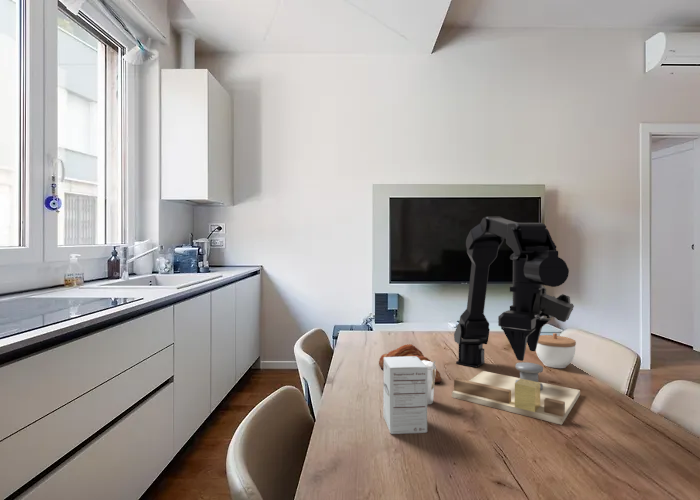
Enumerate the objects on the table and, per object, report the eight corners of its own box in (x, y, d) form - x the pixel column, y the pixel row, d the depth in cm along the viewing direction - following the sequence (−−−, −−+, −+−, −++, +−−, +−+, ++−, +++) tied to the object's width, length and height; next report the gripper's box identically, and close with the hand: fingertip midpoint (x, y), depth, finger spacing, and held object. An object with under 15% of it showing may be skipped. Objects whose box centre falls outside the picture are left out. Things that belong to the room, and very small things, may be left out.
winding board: (451, 397, 93) (451, 381, 93) (483, 375, 108) (483, 361, 108) (561, 424, 78) (561, 406, 78) (579, 395, 94) (579, 379, 94)
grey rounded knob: (512, 387, 96) (512, 366, 96) (519, 380, 101) (519, 360, 101) (539, 393, 92) (539, 371, 92) (545, 385, 97) (545, 365, 97)
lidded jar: (581, 372, 112) (581, 338, 111) (540, 369, 114) (540, 336, 114) (568, 361, 122) (568, 330, 122) (530, 359, 124) (531, 329, 124)
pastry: (437, 367, 116) (437, 340, 116) (441, 385, 101) (441, 354, 101) (379, 364, 119) (379, 337, 119) (375, 382, 104) (375, 351, 104)
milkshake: (426, 408, 86) (426, 362, 86) (411, 400, 91) (411, 356, 91) (442, 404, 88) (442, 359, 88) (427, 396, 93) (427, 353, 93)
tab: (514, 407, 84) (514, 383, 84) (520, 401, 87) (520, 378, 87) (534, 412, 82) (535, 387, 82) (540, 406, 85) (540, 382, 85)
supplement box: (382, 417, 82) (382, 356, 82) (418, 416, 82) (418, 355, 82) (389, 435, 74) (389, 367, 74) (428, 433, 75) (428, 366, 75)
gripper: (560, 288, 72) (559, 374, 72) (578, 281, 87) (578, 352, 87) (497, 284, 79) (497, 363, 79) (524, 278, 94) (524, 344, 94)
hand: (526, 355), depth 85 cm, fingers open, 9 cm apart
